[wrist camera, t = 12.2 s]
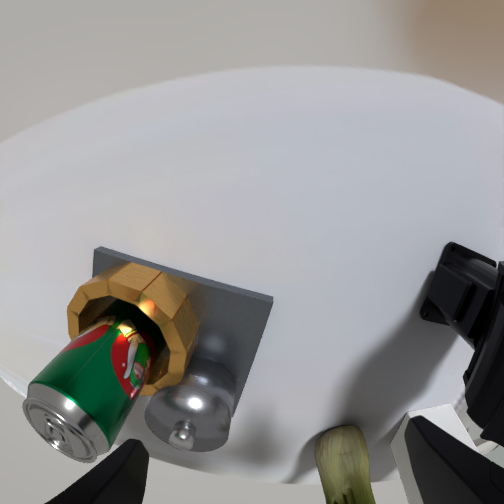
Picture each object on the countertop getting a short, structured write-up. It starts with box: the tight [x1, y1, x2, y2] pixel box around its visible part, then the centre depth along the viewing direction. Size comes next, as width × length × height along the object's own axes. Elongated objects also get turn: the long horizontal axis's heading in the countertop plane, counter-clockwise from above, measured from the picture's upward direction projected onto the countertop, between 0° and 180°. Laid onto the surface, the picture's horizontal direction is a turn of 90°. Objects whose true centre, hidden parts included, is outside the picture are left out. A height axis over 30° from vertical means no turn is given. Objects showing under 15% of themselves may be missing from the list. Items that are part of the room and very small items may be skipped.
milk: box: [390, 403, 479, 504], centre depth 13 cm, size 6×6×22 cm
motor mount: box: [67, 246, 273, 452], centre depth 18 cm, size 14×12×8 cm
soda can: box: [22, 298, 167, 463], centre depth 14 cm, size 5×5×12 cm
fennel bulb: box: [315, 425, 376, 504], centre depth 18 cm, size 6×5×12 cm
